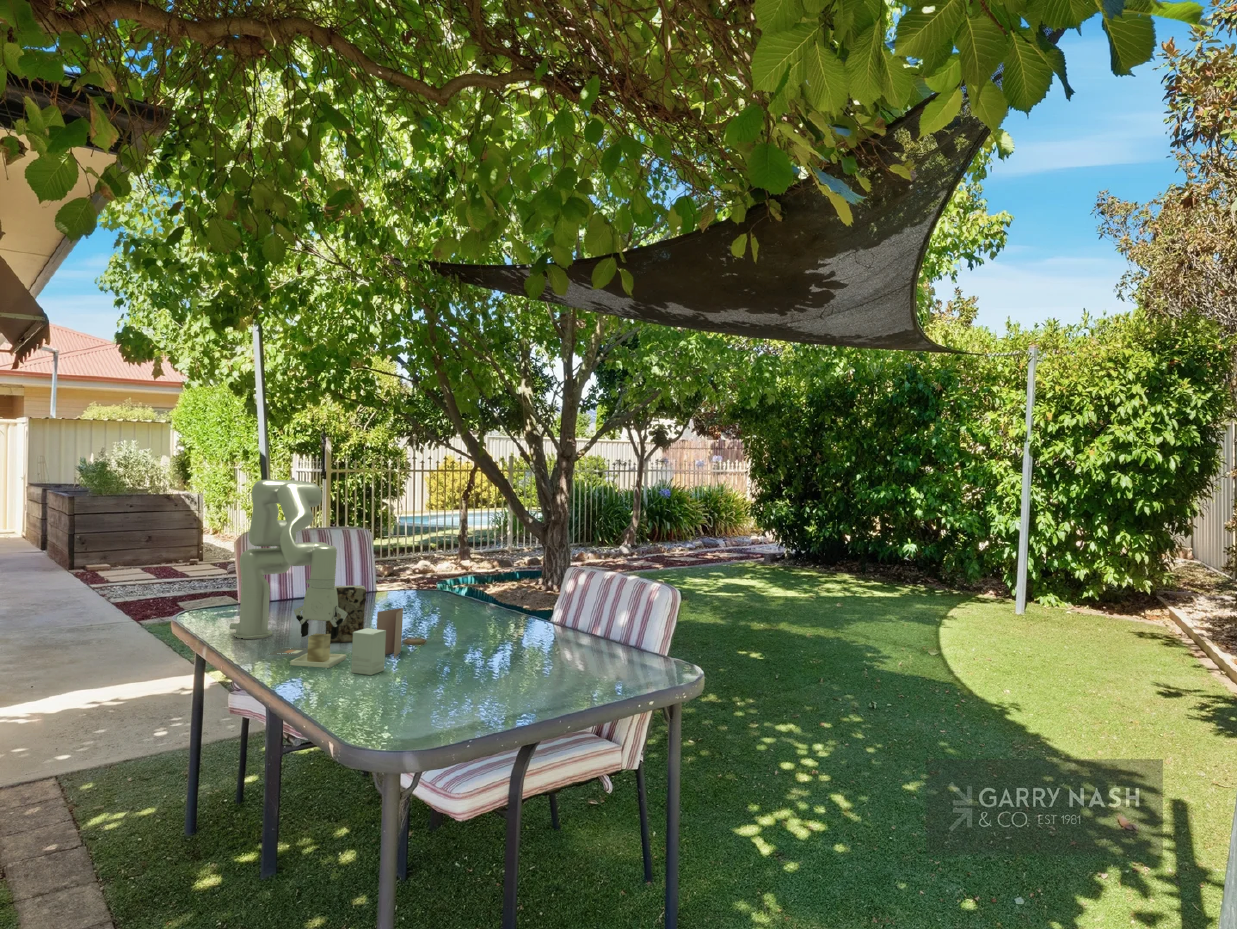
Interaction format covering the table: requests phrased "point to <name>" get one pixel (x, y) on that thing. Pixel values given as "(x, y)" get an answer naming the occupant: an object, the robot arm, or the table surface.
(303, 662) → the cream tray
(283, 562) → the robot arm
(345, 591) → the stone block
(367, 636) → the supplement box
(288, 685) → the table surface
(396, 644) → the greeting card
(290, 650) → the tile
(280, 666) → the table surface
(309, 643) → the beech block
